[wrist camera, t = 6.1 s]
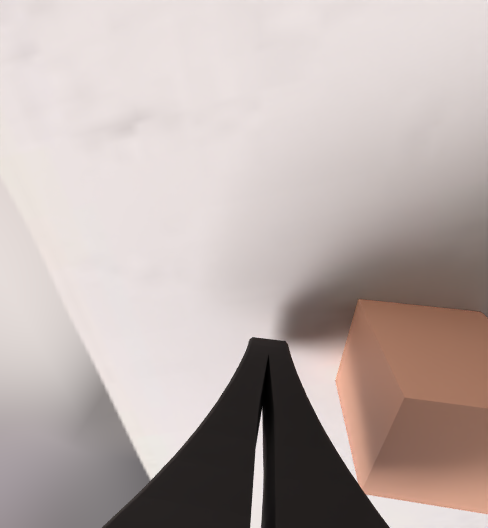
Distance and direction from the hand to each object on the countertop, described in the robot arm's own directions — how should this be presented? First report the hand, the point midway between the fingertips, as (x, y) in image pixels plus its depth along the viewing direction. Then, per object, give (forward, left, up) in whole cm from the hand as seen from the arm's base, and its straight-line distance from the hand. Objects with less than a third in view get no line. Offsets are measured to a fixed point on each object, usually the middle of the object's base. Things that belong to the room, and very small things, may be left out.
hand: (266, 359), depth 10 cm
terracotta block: (0, -5, -2) cm, 6 cm away
